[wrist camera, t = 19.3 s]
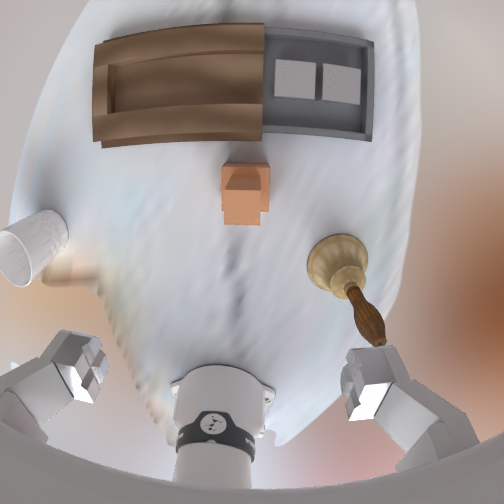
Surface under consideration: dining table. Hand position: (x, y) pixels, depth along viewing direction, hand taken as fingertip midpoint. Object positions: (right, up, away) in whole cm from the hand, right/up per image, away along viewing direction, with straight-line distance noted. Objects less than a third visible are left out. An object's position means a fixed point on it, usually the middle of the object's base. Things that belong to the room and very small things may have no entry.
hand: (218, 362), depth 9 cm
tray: (+8, +22, +20) cm, 31 cm away
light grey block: (+5, +22, +19) cm, 29 cm away
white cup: (-29, +7, +28) cm, 40 cm away
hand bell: (+12, +2, +29) cm, 32 cm away
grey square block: (+10, +22, +19) cm, 30 cm away
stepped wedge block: (0, +11, +25) cm, 27 cm away
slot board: (-7, +22, +20) cm, 31 cm away
